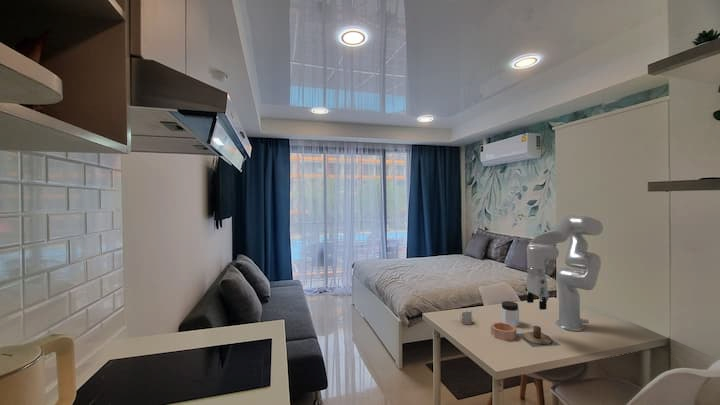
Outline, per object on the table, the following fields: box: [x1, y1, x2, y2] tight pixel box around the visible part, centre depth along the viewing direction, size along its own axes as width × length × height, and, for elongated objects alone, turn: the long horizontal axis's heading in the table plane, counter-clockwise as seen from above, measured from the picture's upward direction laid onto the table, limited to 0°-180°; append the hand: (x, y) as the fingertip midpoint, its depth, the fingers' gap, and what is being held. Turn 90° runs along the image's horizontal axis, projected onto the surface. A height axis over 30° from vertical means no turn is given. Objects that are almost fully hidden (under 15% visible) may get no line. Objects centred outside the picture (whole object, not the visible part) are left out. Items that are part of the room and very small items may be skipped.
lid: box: [524, 325, 553, 345], centre depth 153 cm, size 12×12×6 cm
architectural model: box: [459, 310, 474, 325], centre depth 176 cm, size 3×7×7 cm, turn 95°
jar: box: [500, 300, 520, 328], centre depth 171 cm, size 9×8×12 cm
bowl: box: [490, 321, 517, 342], centre depth 158 cm, size 11×11×5 cm
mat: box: [516, 331, 561, 348], centre depth 153 cm, size 14×14×1 cm
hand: (536, 305), depth 152 cm, fingers open, 9 cm apart
